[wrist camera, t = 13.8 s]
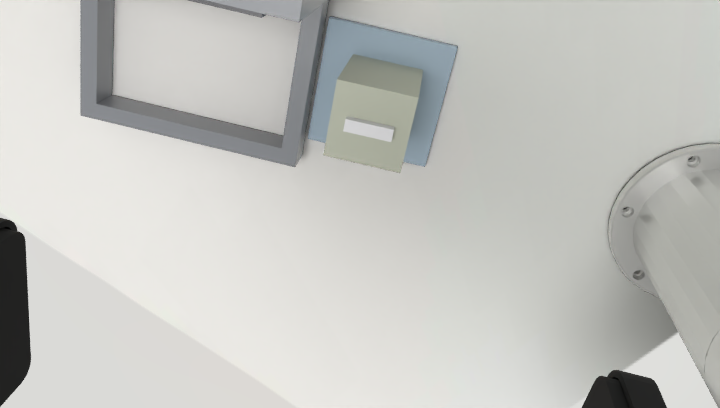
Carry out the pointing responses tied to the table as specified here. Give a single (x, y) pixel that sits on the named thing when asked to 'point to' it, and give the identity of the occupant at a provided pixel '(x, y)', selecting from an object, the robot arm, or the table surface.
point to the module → (373, 112)
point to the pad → (391, 48)
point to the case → (99, 103)
